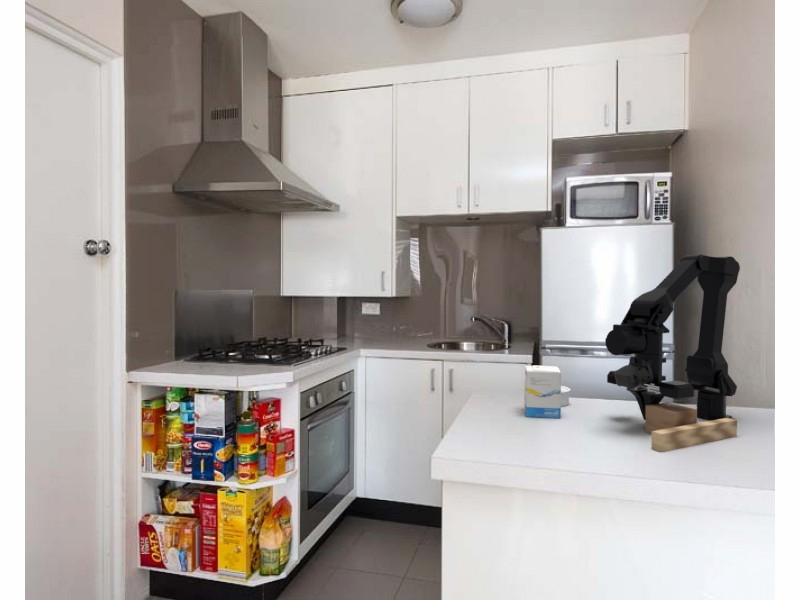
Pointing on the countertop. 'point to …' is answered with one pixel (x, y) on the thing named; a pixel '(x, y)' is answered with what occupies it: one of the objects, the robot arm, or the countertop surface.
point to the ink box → (542, 391)
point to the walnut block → (668, 416)
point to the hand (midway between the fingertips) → (646, 420)
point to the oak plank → (693, 434)
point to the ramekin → (564, 395)
